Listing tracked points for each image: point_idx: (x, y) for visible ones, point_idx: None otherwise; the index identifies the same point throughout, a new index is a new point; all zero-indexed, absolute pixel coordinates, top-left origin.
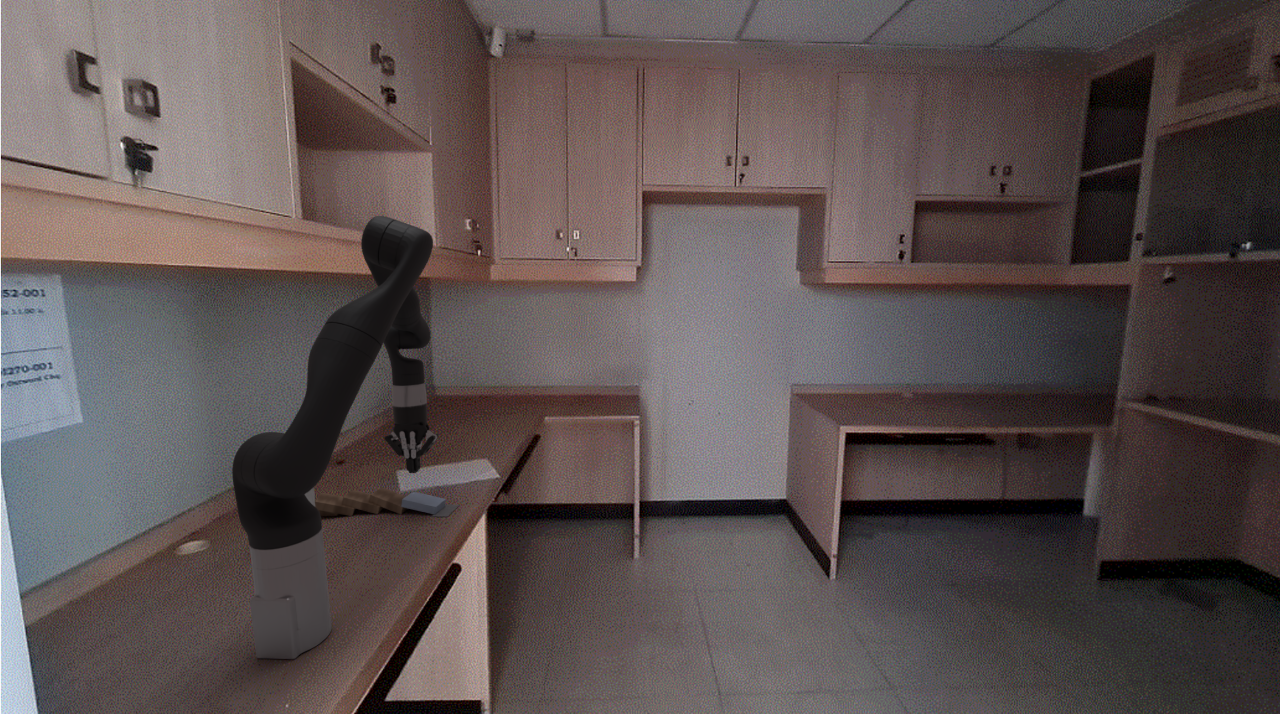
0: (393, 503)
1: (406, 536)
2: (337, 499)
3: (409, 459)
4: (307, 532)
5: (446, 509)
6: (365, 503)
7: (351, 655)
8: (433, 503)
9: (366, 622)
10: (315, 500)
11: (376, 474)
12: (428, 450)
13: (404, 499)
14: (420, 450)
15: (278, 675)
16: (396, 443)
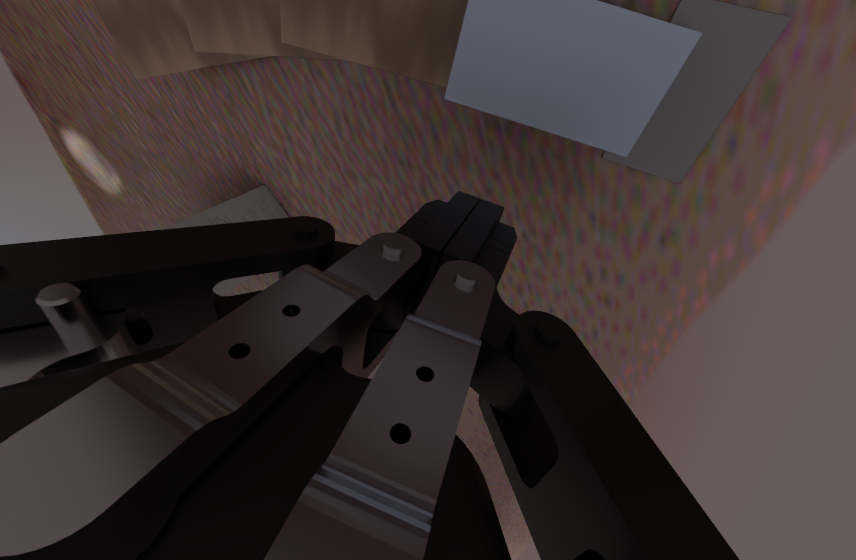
0: (409, 75)
1: (520, 288)
2: (171, 7)
3: (415, 310)
4: None
5: (687, 87)
6: (294, 56)
7: (509, 534)
8: (613, 118)
9: (510, 504)
10: (132, 70)
11: None
12: (589, 370)
13: (455, 97)
14: (497, 434)
15: None
16: (189, 337)
